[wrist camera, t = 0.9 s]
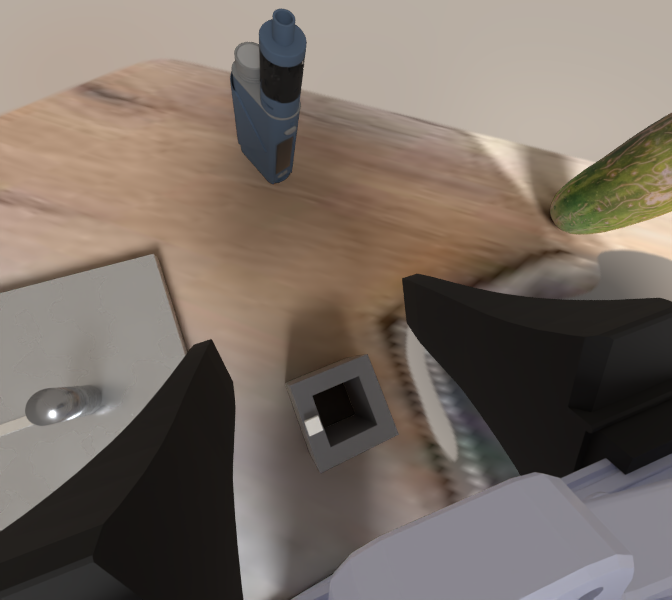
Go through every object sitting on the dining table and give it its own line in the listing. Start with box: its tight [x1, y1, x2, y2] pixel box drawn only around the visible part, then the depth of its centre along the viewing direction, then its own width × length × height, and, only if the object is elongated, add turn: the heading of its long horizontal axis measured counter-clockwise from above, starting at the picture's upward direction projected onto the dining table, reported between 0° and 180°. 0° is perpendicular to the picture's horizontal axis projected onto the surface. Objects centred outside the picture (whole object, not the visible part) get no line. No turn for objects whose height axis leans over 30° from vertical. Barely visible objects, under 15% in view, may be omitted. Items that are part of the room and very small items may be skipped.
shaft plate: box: [0, 254, 188, 531], centre depth 18 cm, size 16×12×4 cm
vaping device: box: [230, 9, 307, 184], centre depth 21 cm, size 3×5×12 cm, turn 41°
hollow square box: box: [285, 354, 399, 473], centre depth 21 cm, size 5×5×5 cm
